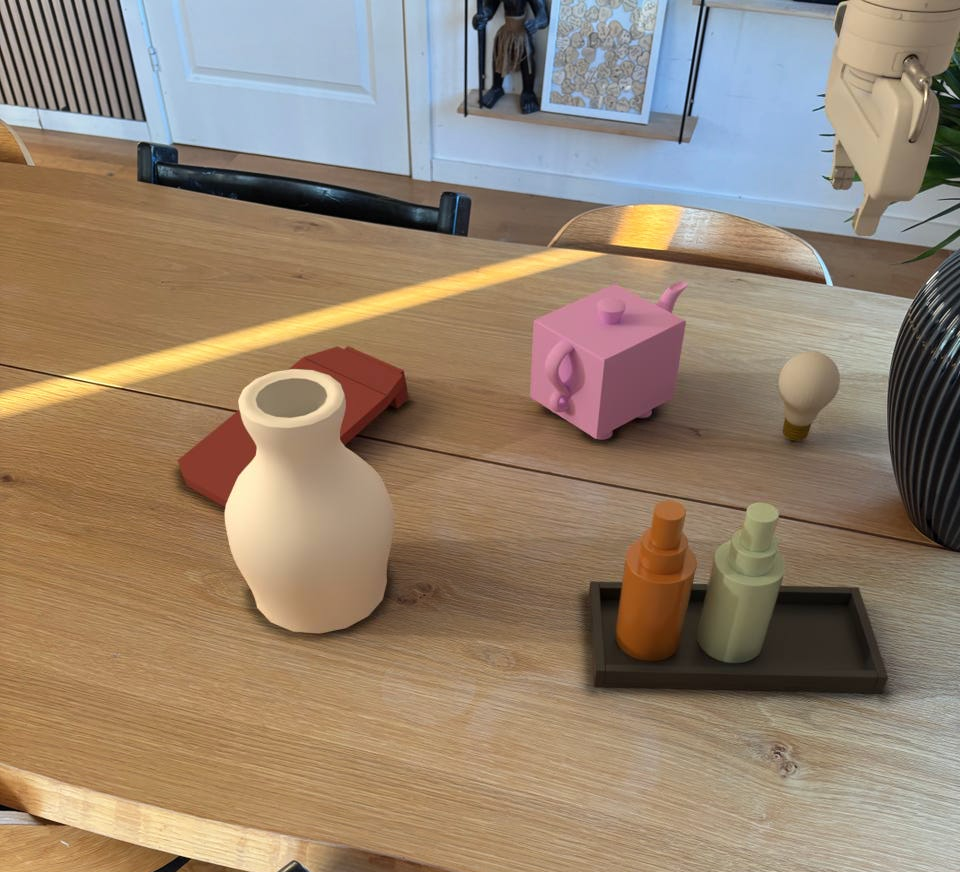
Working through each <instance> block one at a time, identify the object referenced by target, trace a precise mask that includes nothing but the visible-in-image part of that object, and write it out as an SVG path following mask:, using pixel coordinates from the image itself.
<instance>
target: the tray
mask: <svg viewBox="0 0 960 872" xmlns="http://www.w3.org/2000/svg"><path fill="white" fill-rule="evenodd" d="M707 586H708V583H693V586H692V591H691V595H690V600H689V605H688V609H687V614H686V619H685V624H684V628H683V633H682V638H681V642H680V646H679V648H678V650H677V651H676V652H675V653H674V654H673V655H672V656H670V657H668V658H666V659H663V660H660V661H643V660H639V659H636V658H633V657H631V656H629V655H628V654H626V653H625V652H624V651H622V650H621V649H620V647H619V646H618V644H617V642H616V639H615V629H616V622H617V615H618V608H619V601H620V594H621V587H622V581H590V582H589V589H588V597H587V598H588V612H589V615H588V616H589V630H590V631H589V632H590V646H591V647H590V648H591V661H592V662H591V663H592V676H593V677H592V678H593V679H592V680H593V687H595V688H596V687H597V688H598V687H599V688H636V689H640V688H641V689H676V690H677V689H679V690H680V689H681V690H716V691H717V690H719V691H720V690H721V691H723V690H724V691H725V690H726V691H762V692H763V691H764V692H770V691H771V692H804V693H807V692H808V693H809V692H810V693H848V694H849V693H850V694H851V693H852V694H857V693H858V694H882V693H883V691H884V689H885V687H886V684H887V682H888V679H889V675H888V672H887V669H886V666H885V663H884V659H883V657H882V654H881V651H880V648H879V645H878V642H877V638H876V635H875V633H874V630H873V626H872V623H871V620H870V618H869V614H868V611H867V609H866V605H865V602H864V600H863V597H862V593H861V590H860V587H858V586H857V587H856V586H851V587H850V586H819V585H818V586H817V585H816V586H815V585H814V586H813V585H812V586H811V585H781V587H780V591H779V594H778V597H777V601H776V604H775V607H774V611H773V614H772V617H771V621H770V624H769V627H768V631H767V634H766V637H765V641H764V644H763V647H762V650H761V652H760V653H759V654H758V655H757V656H756V657H755V658H754V659H752V660H750V661H747V662H743V663H727V662H723V661H720V660H717V659H715V658H713V657H711V656H709V655H708V654H707V653H706V652H705V651H703V649H702V648H701V647H700V645H699V643H698V640H697V630H698V625H699V621H700V616H701V612H702V608H703V603H704V599H705V594H706V590H707Z"/></svg>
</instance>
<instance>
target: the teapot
mask: <svg viewBox="0 0 960 872" xmlns="http://www.w3.org/2000/svg"><path fill="white" fill-rule="evenodd" d="M687 287H688V282H687V281H678V282H675V283H673V284H671V285H670V286H669V287H667V288H666V289H665V290H664V292H663V293H662V294H661V296H660V297H659V299H658V301H657V302H656V303H653V302H651V301H649V300H648V299H645V298H644V297H641V296H639V295H637V294H636V293H633V292H631V291H630V290H627V289H625V288H623V287H622V286H620V285H618V284H615V283H614V284H612V285H610V286H607V287H605V288H602V289H599V290H598V291H595V292H594V293H591V294H589V295H587V296H585V297H582V298H580V299H578V300H575V301H573V302H571V303H569V304H566V305H564V306H562V307H559V308H558V309H555V310H553V311H551V312H549V313H546V314H545V315H542V316H540V317H537V318H536V319H534V321H533V324H532V326H533V327H532V347H531V370H530V391H529V392H530V394H529V397H530V398H531V399H532V400H534V401H536V402H537V403H539V404H540V405H542V406H543V407H545V408H546V409H548V410H550V411H551V412H552V413H554V414H556V415H558V416H559V417H561V418H562V419H564V420H565V421H567V422H568V423H570V424H572V425H573V426H575V427H576V428H578V429H580V430H581V431H583V432H585V433H586V434H588V435H589V436H590V437H591V438H593V439H595V440H601V441H603V440H608V439H609V438H611V437H612V436H613V433H614V432H613V431H614V430H615V429H618V428H619V427H622V426H623V425H625V424H627V423H629V422H631V421H632V420H634V419H636V418H637V419H645V418H649V417H650V416H652V413H653V412H652V409H655V408H657V407H658V406H660V405H662V404H664V403H666V402H668V401H669V400H672V399H673V398H675V397H674V396H675V390H676V384H677V380H678V372H679V368H680V360H681V356H682V348H683V343H684V336H685V331H686V324H687V320H686V319H684V318H681V317H680V316H678V315H676V314H674V313H673V311H674V307H675V304H676V302H677V300H678V299H679V296H680V295H681V293H683V291H684V290H685V289H686V288H687Z"/></svg>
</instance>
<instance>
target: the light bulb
mask: <svg viewBox="0 0 960 872" xmlns="http://www.w3.org/2000/svg"><path fill="white" fill-rule="evenodd" d="M840 383H841V377H840V371H839V369H838V365H837V364H836V363H835V361H834V360H833V359H832V358H831V357H829V356H828V355H826V354H825V353H822V352H818V351H805V352H802V353H799V354H797V355H795V356H793V357H791V358H790V359H789V360H788V361H787V362H786V363H785V365H784V366H783V367H782V369H781V371H780V373H779V378H778V391H779V395H780V397H781V400H782V402H783V406H784V407H783V409H784V410H783V411H784V416H785V417H784V421H783V426H782V431H781V433H782V435H783V436H784V437H785V438H786V439H788V440H789V441H790V442H791V443H795V442H800V441H805V440H806V439H807V438H808V435H809V434H810V433H809V432H810V431H811V428H812V427H811V426H812V424H813V423H814V421H815V420H816V418H817V417H818V415H819V414H820V412H821V411H822V410H823V409H824V408H825V407H827V406H828V405H829V404H830V403H832V401H833V400H834V399H835V397H836V395H837V393H838V392H839V388H840Z"/></svg>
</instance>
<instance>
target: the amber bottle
mask: <svg viewBox="0 0 960 872" xmlns="http://www.w3.org/2000/svg"><path fill="white" fill-rule="evenodd" d="M653 508H654V509H653V513H652V518H651V519H652V520H651V526H650V527H649V528H647V529H646V530H644V531H643V533H642V534H641V539H638V540H636V541H635V542H634V543H632V544H631V545H630V546H629V547H628V549H627V551H626V553H625V558H624V566H623V574H622V581H621V582H622V587H621V594H620V601H619V608H618V615H617V622H616V629H615V639H616V642H617V644H618V646H619V647H620V649H621V650H622V651H624V652H625V653H626V654H628V655H629V656H631V657H633V658H636V659H639V660H643V661H660V660H663V659H666V658H668V657H670V656H672V655H673V654H674V653H675V652H676V651H677V650H678V648H679V646H680V642H681V638H682V633H683V628H684V624H685V619H686V614H687V609H688V605H689V600H690V595H691V591H692V586H693V584H694V580H695V577H696V576H695V575H696V571H697V568H698V567H697V566H698V561H697V557H696V555H695V553H694V552H693V550H692V549H691V548H690V547H689V541H688V538H687V535H686V534H685V533H684V532H683V530H684V524H685V519H686V515H687V509H686V508H685V506H684V505H682V503H680V502H678V501H675V500H669V499H668V500H662V501H659V502H658V503H656V504H655V505H654V507H653Z"/></svg>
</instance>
